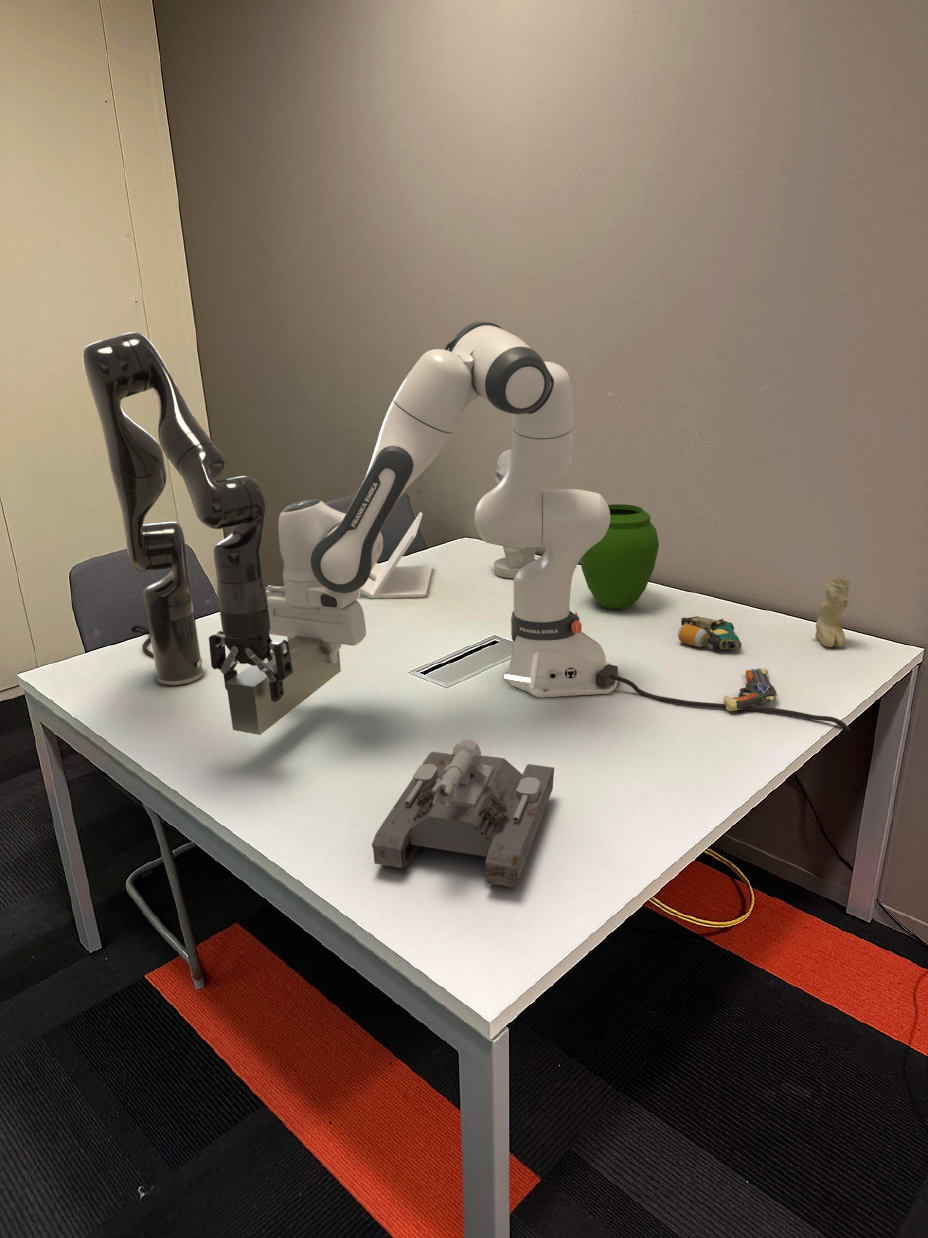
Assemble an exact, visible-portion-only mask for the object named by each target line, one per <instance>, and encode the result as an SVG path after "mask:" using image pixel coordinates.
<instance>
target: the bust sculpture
mask: <svg viewBox="0 0 928 1238" xmlns="http://www.w3.org/2000/svg"><path fill="white" fill-rule="evenodd" d="M510 458H511V449H506V450H504V451H502V452H501V454H500V455H499V457H498V459H497V461H496V468H495V471H494V480H495V482H496V484H497V485H498V484H499V483H500V482H501V481H502V479H503V478H504V476H505V474H506V472H507V470H508V468H509V464H510ZM542 489H547V488H546V486H544V487H543V488H542ZM502 548H503V553H504V557H502V558H498V559H496V560H495V561H494V562H493V573H494V574H495V575H496V576H497V577H500V578H506V579H514V578H515V575H516V574H517V572H518V571H519V570H520V569H521V568H522V567H524V566H525V565H527V564H529V563H531V562H533V561H535V560H537V559H536V558H535V556H536V549H537V547H504V546H502Z"/></svg>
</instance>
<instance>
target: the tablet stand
mask: <svg viewBox="0 0 928 1238" xmlns="http://www.w3.org/2000/svg"><path fill="white" fill-rule="evenodd" d="M423 514H424V513H423V512H421V511H420V512H418V514H417V516H416V518H415V519H414V520H413V522H412V523H411V525H410V527H409V528H408V530H407V531H406V533H405V535H403V537H402V539H401V540H400V542H399V544H398V546H396V547H395V550H394V551H393V552H392V554H391V556H390V557H389V558H388V560H387V562H386V563H385V565H384V566H383V565H381V564H379V563H378V562H376V564H375V565H374V567H373V569H372V570H371V573H370V575H369V578H368V580H367V581H366V583H365V584H364V585H363V586H362V587H361V588H360V589H359V593H361V594H363V595H364V596H367V597H368V598H370V599H387V598H388V599H392V598H393V599H397V598H403V599H405V598H425V597H427V595H428V591H429V586H430V582H431V577H432V572H433V566H432V565H413V566H412V565H410V566H405V565H404V566H403V565H402V566H398V563H399V562H400V561H401V559H402V557H403V556H404V555H405V553H406V552H407V550H408V548H409V547H410V545H411V544H412V543H413V541H414V539H415V538H416V536H417V533H418V530H419V527H420V525H421V521H422V517H423ZM370 577H371V578H370ZM373 579H374V580H373Z"/></svg>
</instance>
